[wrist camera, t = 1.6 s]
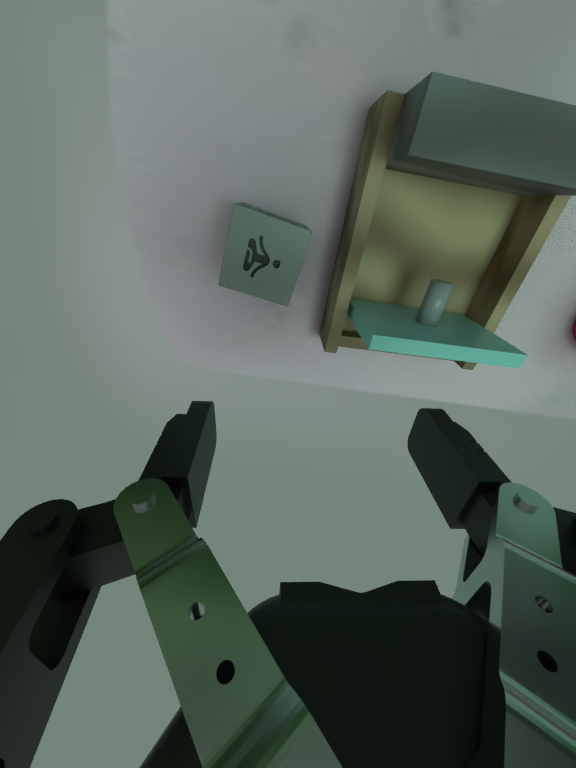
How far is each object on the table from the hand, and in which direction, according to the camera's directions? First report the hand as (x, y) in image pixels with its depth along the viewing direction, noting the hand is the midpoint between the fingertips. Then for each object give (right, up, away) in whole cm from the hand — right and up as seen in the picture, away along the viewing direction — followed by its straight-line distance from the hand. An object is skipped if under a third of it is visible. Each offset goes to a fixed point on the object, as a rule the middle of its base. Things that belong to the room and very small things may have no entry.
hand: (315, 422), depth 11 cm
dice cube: (-3, +12, +12) cm, 18 cm away
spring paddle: (+9, +9, +13) cm, 19 cm away
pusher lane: (+10, +12, +12) cm, 20 cm away
